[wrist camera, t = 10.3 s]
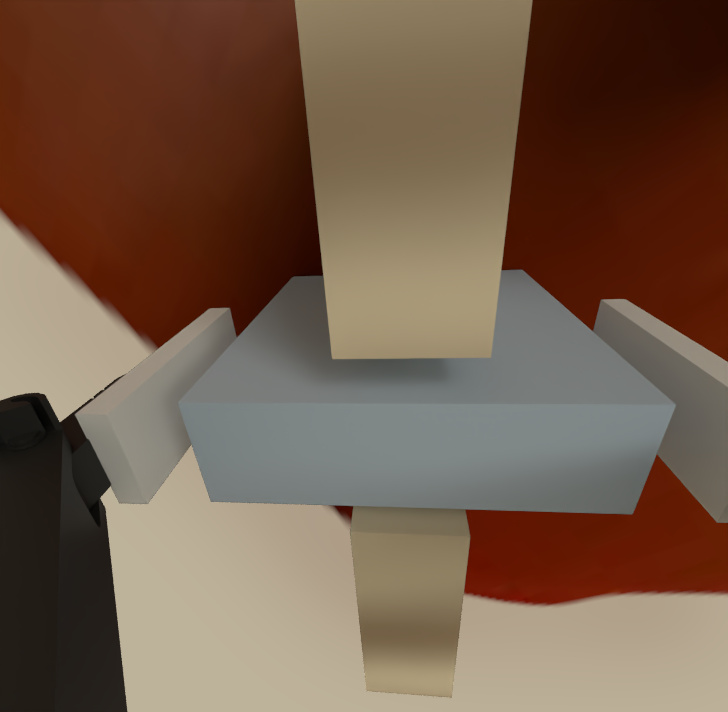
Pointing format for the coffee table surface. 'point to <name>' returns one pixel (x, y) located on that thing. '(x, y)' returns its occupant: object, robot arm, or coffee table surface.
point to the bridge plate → (427, 415)
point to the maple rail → (412, 259)
